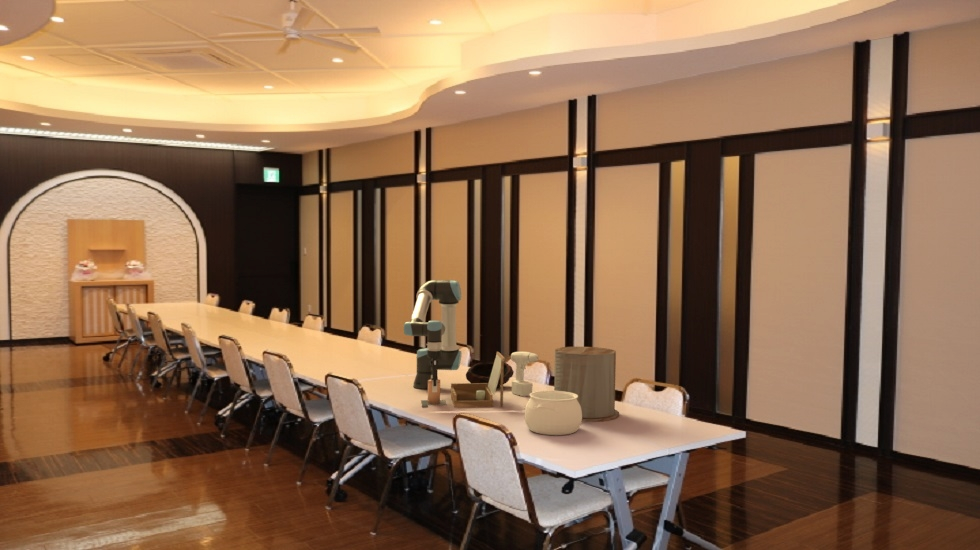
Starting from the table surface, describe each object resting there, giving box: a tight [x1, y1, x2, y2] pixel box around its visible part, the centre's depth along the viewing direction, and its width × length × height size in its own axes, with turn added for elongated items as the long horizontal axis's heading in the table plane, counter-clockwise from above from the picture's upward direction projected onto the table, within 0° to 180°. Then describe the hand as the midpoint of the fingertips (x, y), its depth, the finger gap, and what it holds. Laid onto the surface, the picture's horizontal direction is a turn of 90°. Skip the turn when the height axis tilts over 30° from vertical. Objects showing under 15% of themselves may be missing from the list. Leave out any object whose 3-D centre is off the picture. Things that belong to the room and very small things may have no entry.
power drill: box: [510, 351, 540, 397], centre depth 424 cm, size 8×24×25 cm, turn 31°
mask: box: [465, 361, 514, 388], centre depth 448 cm, size 18×14×30 cm
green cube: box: [476, 390, 485, 401], centre depth 398 cm, size 5×5×6 cm
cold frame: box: [450, 359, 505, 409], centre depth 396 cm, size 26×25×26 cm
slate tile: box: [420, 399, 448, 408], centre depth 395 cm, size 13×13×1 cm
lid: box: [488, 351, 506, 395], centre depth 399 cm, size 23×20×1 cm
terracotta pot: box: [427, 378, 441, 404], centre depth 395 cm, size 7×7×12 cm
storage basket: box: [553, 346, 620, 423], centre depth 377 cm, size 35×35×32 cm
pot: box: [524, 390, 582, 436], centre depth 343 cm, size 29×26×16 cm
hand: (434, 389), depth 395 cm, fingers open, 13 cm apart
